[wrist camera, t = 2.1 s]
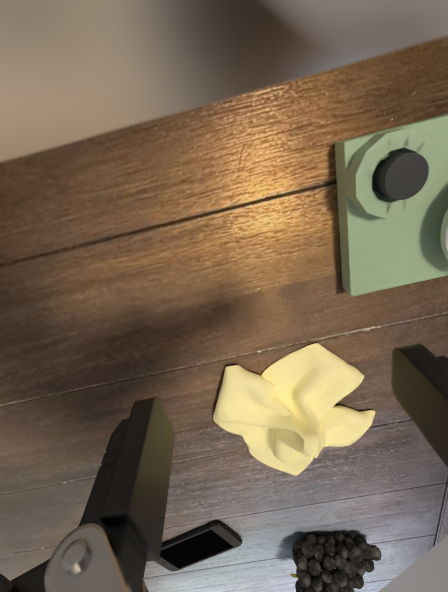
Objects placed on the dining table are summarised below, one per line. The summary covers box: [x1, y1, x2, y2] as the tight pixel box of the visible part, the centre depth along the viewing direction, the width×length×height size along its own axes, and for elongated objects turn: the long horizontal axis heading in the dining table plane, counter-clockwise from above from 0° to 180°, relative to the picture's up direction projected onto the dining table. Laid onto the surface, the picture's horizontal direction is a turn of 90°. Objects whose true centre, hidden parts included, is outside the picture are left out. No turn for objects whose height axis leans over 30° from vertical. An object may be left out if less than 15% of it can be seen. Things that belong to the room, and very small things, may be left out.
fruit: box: [290, 532, 381, 592], centre depth 46 cm, size 9×8×15 cm
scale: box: [335, 113, 448, 296], centre depth 24 cm, size 16×13×4 cm
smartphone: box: [153, 522, 242, 571], centre depth 48 cm, size 7×15×1 cm, turn 124°
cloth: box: [213, 343, 375, 476], centre depth 33 cm, size 22×19×6 cm
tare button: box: [374, 153, 429, 200], centre depth 20 cm, size 3×3×2 cm
